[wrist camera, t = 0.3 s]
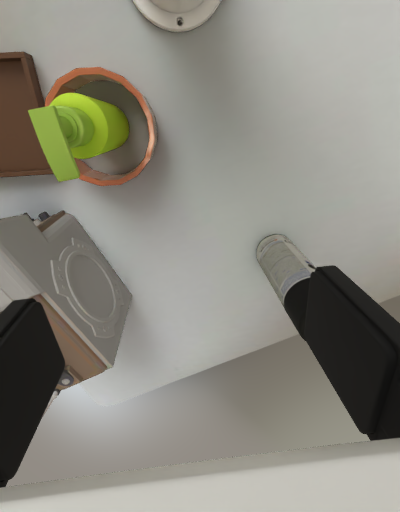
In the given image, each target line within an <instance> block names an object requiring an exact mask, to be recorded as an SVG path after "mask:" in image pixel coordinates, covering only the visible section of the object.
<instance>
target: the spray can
mask: <svg viewBox="0 0 400 512" xmlns="http://www.w3.org/2000/svg"><path fill="white" fill-rule="evenodd" d="M257 260H258V262H259V264H260V266H261V267H262V269H263V271H264V273H265V274H266V276H267V278H268V280H269V282H270V283H271V285H272V287H273V289H274V291H275V292H276V294H277V296H278V298H279V299H280V301H281V303H282V305H283V306H284V308H285V310H286V312H287V314H288V315H289V317H290V319H291V320H292V322H293V324H294V325H295V327H296V329H297V331H298V332H299V334H300V335H301V337H302V338H303V339H304V340H305V341H306V339H305V335H304V328H305V319H306V310H307V301H308V292H309V282H310V275H311V273H312V272H315V269H316V267H315V266H314V265H313V264H312V263H311V262H310V261H309V260H308V259H307V258H306V257H305V256H304V255H303V254H302V252H301V251H300V250H299V249H298V248H297V247H296V246H295V245H294V244H293V243H292V242H291V241H290V240H289V239H288V238H287V237H285V236H282V235H271V236H268V237H266V238H265V239H264V240H262V241H261V242H260V244H259V246H258V248H257Z"/></svg>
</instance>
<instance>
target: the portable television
mask: <svg viewBox="0 0 400 512" xmlns="http://www.w3.org/2000/svg"><path fill="white" fill-rule="evenodd" d="M39 217H40V219H41V220H42V222H41V221H40V220H39V219H36V220H34V219H31V218H30V216H29V215H28V214H27V213H24V214H21V215H19V216H13V217H8V218H2V219H0V314H1V313H2V312H3V311H4V309H5V308H6V307H7V306H8V305H9V304H10V303H11V302H12V301H14V300H21V299H30V298H33V299H35V300H36V301H37V302H40V303H41V304H42V306H43V308H44V310H45V313H46V315H47V318H48V320H49V323H50V325H51V327H52V330H53V332H54V335H55V337H56V340H57V342H58V344H59V347H60V349H61V352H62V354H63V357H64V359H65V368H64V371H63V373H62V375H61V378H60V380H59V382H58V384H57V386H56V388H55V390H54V393H53V395H52V397H51V399H50V401H49V403H48V406H47V408H46V410H45V412H46V411H47V409H48V408H49V406H50V405H51V403H52V401H53V400H54V399H55V398H56V397H57V395H59V393H60V391H61V390H63V389H66V388H68V387H71V386H73V385H75V384H78V383H80V382H82V381H84V380H86V379H89V378H91V377H93V376H96V375H98V374H100V373H102V372H104V371H105V370H107V369H109V368H112V367H113V365H114V361H115V358H116V354H117V350H118V346H119V343H120V339H121V335H122V331H123V328H124V324H125V320H126V316H127V313H128V309H129V305H130V302H131V298H132V295H131V293H130V292H129V291H128V289H127V288H126V287H125V285H124V284H123V282H122V281H121V280H120V278H119V277H118V276H117V274H116V273H115V272H114V270H113V269H112V267H111V266H110V265H109V263H108V262H107V261H106V259H105V258H104V256H103V255H102V254H101V252H100V251H99V250H98V248H97V247H96V245H95V244H94V243H93V241H92V240H91V239H90V237H89V236H88V235H87V233H86V232H85V230H84V229H83V228H82V226H81V225H80V224H79V222H78V221H77V219H76V218H75V217H74V216H72V215H70V214H66V213H65V212H64V211H61V212H59V213H57V214H54V215H52V216H51V217H50V216H49V215H48V214H47V212H43V213H41V214H40V215H39ZM45 412H44V414H45ZM44 414H43V416H44ZM43 416H42V417H43ZM41 419H42V418H41Z"/></svg>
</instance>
